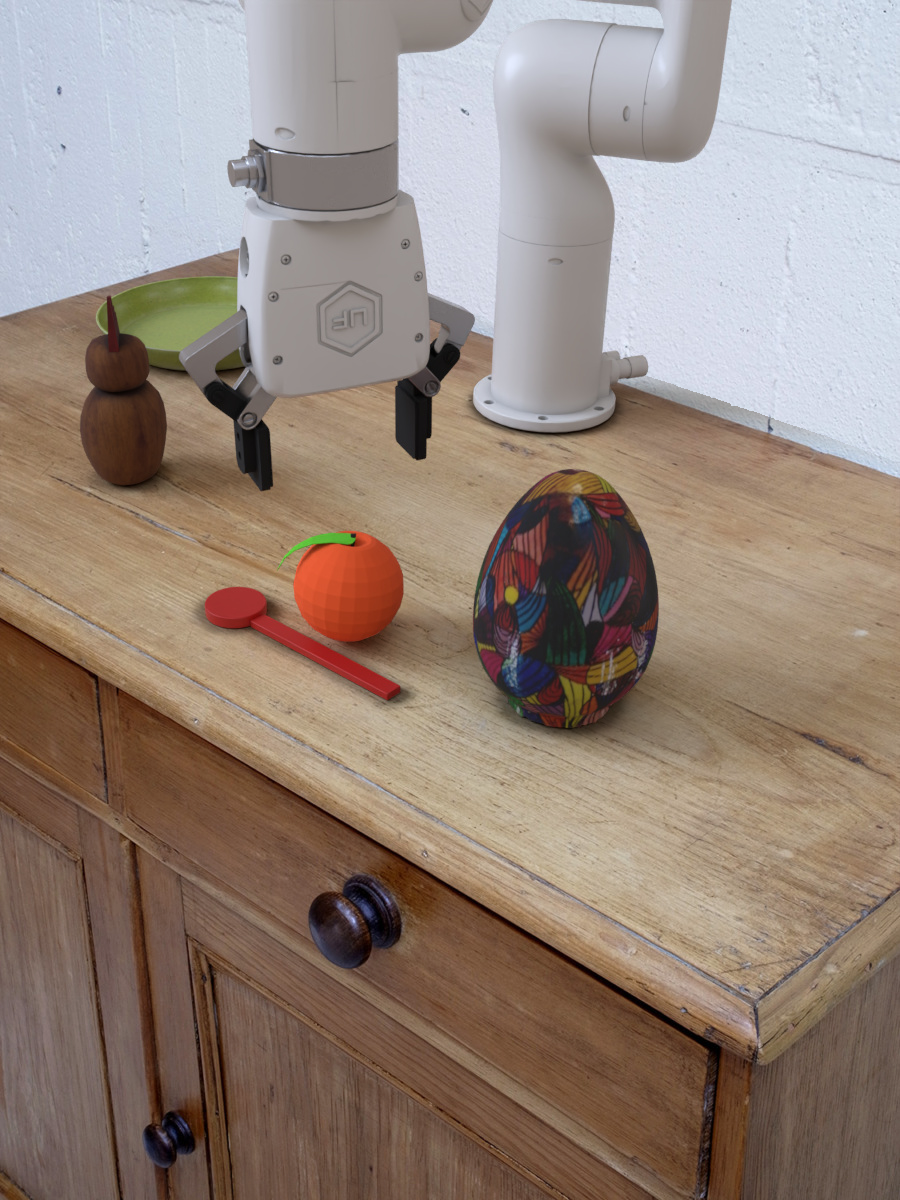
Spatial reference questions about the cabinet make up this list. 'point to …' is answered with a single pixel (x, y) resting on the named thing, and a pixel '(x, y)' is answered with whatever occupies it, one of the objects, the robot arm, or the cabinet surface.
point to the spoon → (288, 636)
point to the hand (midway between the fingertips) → (336, 465)
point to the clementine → (347, 585)
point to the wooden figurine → (121, 408)
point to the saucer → (174, 316)
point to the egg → (566, 601)
